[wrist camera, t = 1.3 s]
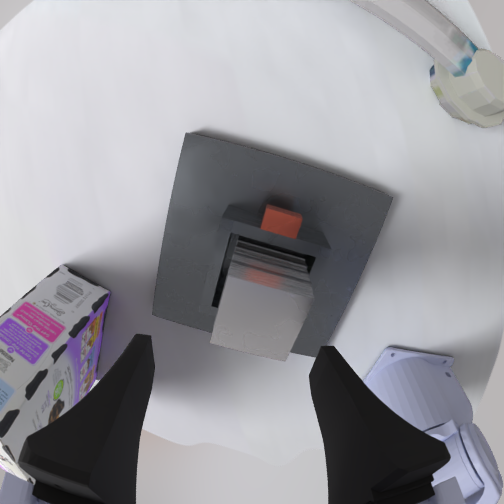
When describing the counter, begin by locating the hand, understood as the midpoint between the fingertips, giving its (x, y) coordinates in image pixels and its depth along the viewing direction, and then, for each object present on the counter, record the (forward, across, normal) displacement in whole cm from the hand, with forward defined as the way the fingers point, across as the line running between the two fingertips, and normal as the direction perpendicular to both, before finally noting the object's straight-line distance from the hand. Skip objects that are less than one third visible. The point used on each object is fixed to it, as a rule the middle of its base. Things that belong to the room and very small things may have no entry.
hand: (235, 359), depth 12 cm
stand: (+10, -2, 0) cm, 10 cm away
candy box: (+12, +14, +11) cm, 22 cm away
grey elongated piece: (+12, -6, -19) cm, 23 cm away
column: (+9, -2, 0) cm, 9 cm away
